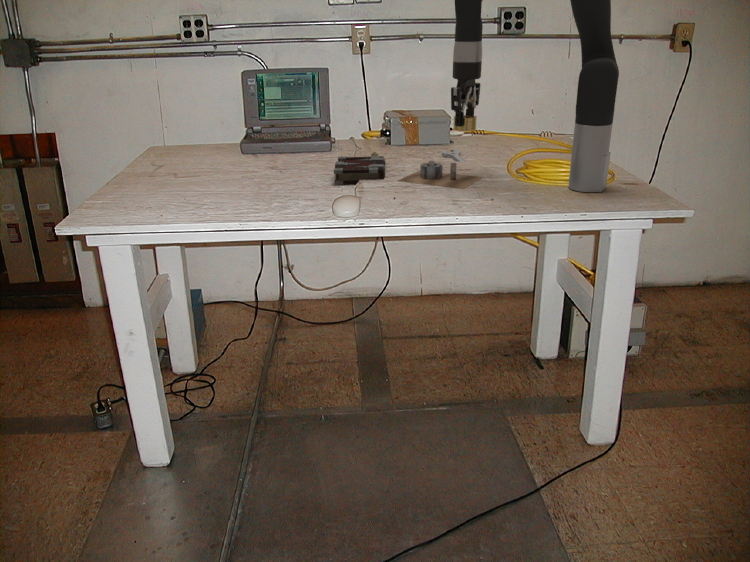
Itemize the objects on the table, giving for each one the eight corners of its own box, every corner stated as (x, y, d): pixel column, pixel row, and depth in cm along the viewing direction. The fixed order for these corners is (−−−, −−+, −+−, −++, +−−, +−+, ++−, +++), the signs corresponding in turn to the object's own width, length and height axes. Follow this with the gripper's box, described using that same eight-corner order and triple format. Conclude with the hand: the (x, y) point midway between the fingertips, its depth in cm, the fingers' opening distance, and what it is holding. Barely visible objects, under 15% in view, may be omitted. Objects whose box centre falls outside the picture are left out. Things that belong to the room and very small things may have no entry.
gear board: (483, 182, 175) (484, 161, 172) (463, 194, 164) (464, 172, 161) (419, 175, 184) (419, 154, 182) (397, 186, 173) (396, 164, 171)
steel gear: (442, 174, 178) (443, 162, 177) (441, 179, 173) (442, 167, 171) (421, 174, 179) (421, 162, 178) (419, 179, 174) (419, 167, 172)
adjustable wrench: (475, 171, 189) (476, 165, 188) (455, 172, 189) (455, 166, 188) (458, 153, 212) (458, 148, 211) (439, 154, 211) (439, 149, 211)
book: (333, 186, 176) (332, 168, 174) (340, 166, 199) (339, 150, 197) (385, 185, 175) (384, 167, 173) (385, 165, 198) (385, 149, 196)
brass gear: (479, 128, 171) (480, 115, 170) (470, 132, 167) (471, 119, 165) (459, 127, 174) (459, 114, 173) (449, 130, 170) (450, 117, 168)
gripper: (469, 62, 156) (465, 129, 163) (491, 58, 167) (487, 121, 174) (442, 61, 160) (440, 127, 166) (465, 57, 171) (463, 119, 177)
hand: (464, 124), depth 170 cm, fingers closed on brass gear, 6 cm apart
